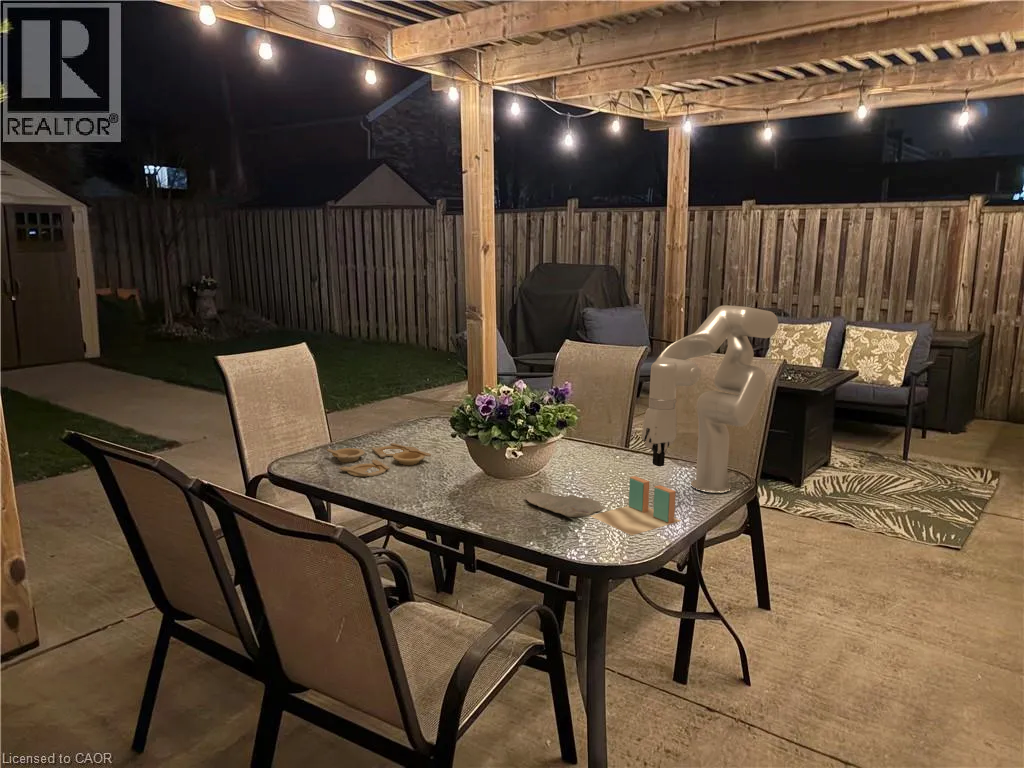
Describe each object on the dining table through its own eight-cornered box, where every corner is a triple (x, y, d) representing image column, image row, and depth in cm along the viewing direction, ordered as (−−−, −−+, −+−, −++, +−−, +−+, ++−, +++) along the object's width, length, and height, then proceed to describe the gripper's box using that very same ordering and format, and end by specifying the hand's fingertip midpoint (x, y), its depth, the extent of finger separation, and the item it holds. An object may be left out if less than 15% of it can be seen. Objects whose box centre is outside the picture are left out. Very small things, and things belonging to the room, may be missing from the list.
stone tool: (613, 509, 215) (541, 492, 228) (614, 498, 214) (541, 481, 227) (585, 527, 199) (508, 507, 211) (586, 515, 198) (509, 496, 211)
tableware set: (354, 482, 236) (353, 470, 236) (316, 461, 259) (316, 451, 258) (442, 463, 258) (442, 452, 257) (401, 445, 280) (400, 435, 280)
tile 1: (633, 505, 212) (634, 476, 210) (648, 511, 207) (649, 481, 205) (628, 506, 211) (629, 477, 209) (642, 512, 206) (643, 482, 204)
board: (638, 506, 214) (638, 503, 214) (681, 524, 200) (681, 520, 200) (589, 519, 203) (589, 515, 203) (631, 538, 190) (631, 535, 189)
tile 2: (658, 515, 204) (659, 485, 202) (673, 522, 199) (675, 491, 197) (652, 517, 203) (653, 486, 201) (668, 523, 198) (669, 492, 196)
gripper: (670, 399, 215) (666, 459, 218) (634, 404, 207) (630, 465, 210) (689, 404, 209) (685, 464, 212) (652, 408, 201) (649, 472, 204)
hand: (658, 465), depth 211 cm, fingers closed
